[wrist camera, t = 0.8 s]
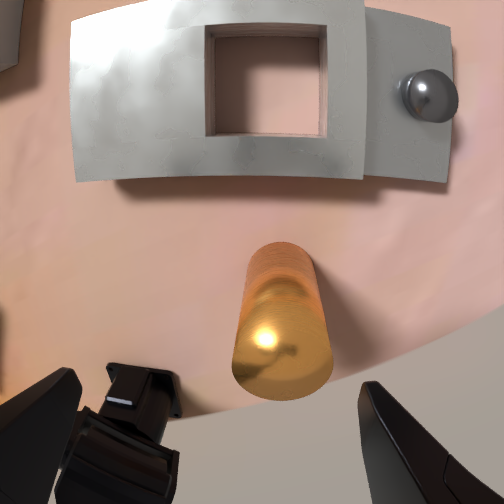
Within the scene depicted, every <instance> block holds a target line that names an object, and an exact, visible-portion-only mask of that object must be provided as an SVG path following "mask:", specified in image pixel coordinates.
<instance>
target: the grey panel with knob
mask: <svg viewBox="0 0 504 504" xmlns="http://www.w3.org/2000/svg"><path fill="white" fill-rule="evenodd" d="M242 36H287V37H309V38H319V135H311V134H284V133H220V134H216V120H215V38H221V37H242ZM457 108H458V93H457V90H456V87H455V85H454V83H453V65H452V44H451V31H450V27H448V26H445V25H442V24H438V23H435V22H432V21H428V20H424V19H421V18H417V17H413V16H409V15H404V14H400V13H395V12H391V11H386V10H381V9H375V8H370V7H365V6H364V0H152V1H147V2H142V3H137V4H133V5H129V6H124V7H120V8H116V9H113V10H109V11H105V12H102V13H98V14H95V15H92V16H88V17H85V18H82V19H79V20H76V21H73V22H72V29H71V45H70V116H71V133H72V147H73V158H74V168H75V176H76V182H88V181H100V180H114V179H130V178H149V177H173V176H219V175H254V176H300V177H325V178H344V179H360V180H363V175H371V176H384V177H395V178H406V179H415V180H425V181H433V182H442V183H447V176H448V167H449V157H450V145H451V131H452V117H453V116H454V115H455V113H456V111H457Z"/></svg>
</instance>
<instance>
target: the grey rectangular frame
mask: <svg viewBox="0 0 504 504" xmlns="http://www.w3.org/2000/svg"><path fill="white" fill-rule="evenodd" d="M23 5H24V0H0V72H1V71H3V70H6V69H8V68H10V67H12V66H15V65H17V64H18V52H19V39H20V28H21V19H22V12H23Z"/></svg>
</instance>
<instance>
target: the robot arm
mask: <svg viewBox="0 0 504 504" xmlns="http://www.w3.org/2000/svg"><path fill="white" fill-rule="evenodd" d="M106 369H107V372H108V375H109V377H110V380H111V382H112V385H111V387H110V388H109V390H108V392H107V394H106V396H105V401H104V403H103V404H102V406H101V408H100V410H99V413H98V414H97V413H95V412H94V411H92V410H90V408H89V407H87V406H84V408H83V410H82V411H77V409H78V406H79V402H80V398H81V395H82V385H81V383H80V381H79V379H78V377H77V375H76V373H75V371H74V370H73V369H71V368H66V367H62V368H60V369H58V370H57V371H55V372H53V373H52V374H50V375H48V376H47V377H45V378H44V379H42V380H40V381H39V382H37V383H36V384H34V385H32V386H31V387H29V388H28V389H26V390H24V391H23V392H21V393H19V394H18V395H16V396H15V397H13V398H11V399H10V400H8V401H7V402H5V403H3V404H2V405H0V504H48V501H49V497H50V494H51V491H52V487H53V484H54V481H55V477H56V475H57V472H58V469H61V470H62V471H61V474H60V476H59V478H58V481H57V483H56V486H55V489H54V492H55V499H56V504H171V503H172V501H173V498H174V495H175V491H176V486H177V474H178V464H179V454H180V453H179V452H178V451H176V450H171V449H168V448H166V447H164V446H161V445H160V443H161V440H162V437H163V433H164V430H165V427H166V424H167V421H168V418H169V417H172V418H181V417H182V410H181V406H180V402H179V398H178V394H177V390H176V386H175V381H174V377H173V374H172V373H171V372H169V371H165V370H157V369H150V368H142V367H135V366H129V365H122V364H116V363H108V364H107V366H106ZM358 415H359V425H360V434H361V446H362V453H363V458H364V464H365V468H366V473H367V478H368V483H369V488H370V493H371V498H372V503H373V504H504V498H502V497H501V496H500V495H498V494H497V493H496V492H494V491H493V490H492V489H490V488H489V487H488V486H487V485H485V484H484V483H482V482H481V481H480V480H479V479H477V478H476V477H475V476H474V475H473V474H471V473H470V472H469V471H468V470H467V469H466V468H465V467H464V466H462V465H461V464H460V463H459V462H458V461H457V460H456V459H455V458H454V457H453V456H452V455H451V454H449V452H448V451H447V450H446V449H445V448H444V447H443V446H442V445H441V444H440V443H439V442H438V441H437V440H436V439H435V438H434V437H433V436H432V435H431V434H430V433H429V432H428V431H427V430H426V429H425V428H424V427H423V426H422V425H421V424H420V423H419V422H418V421H417V420H416V419H415V418H414V417H413V416H412V415H411V414H410V413H409V412H408V411H407V410H406V409H405V408H404V407H403V406H402V405H401V404H400V403H399V402H398V401H397V400H396V399H395V398H394V397H393V396H392V395H391V394H390V393H389V392H388V391H387V390H386V389H385V388H384V387H383V386H382V385H381V384H380V383H379V382H377V381H367V382H364V383H363V384H362V387H361V391H360V394H359V398H358Z"/></svg>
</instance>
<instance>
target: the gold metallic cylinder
mask: <svg viewBox="0 0 504 504" xmlns="http://www.w3.org/2000/svg"><path fill="white" fill-rule="evenodd" d="M332 370H333V356H332V351H331V346H330V341H329V336H328V331H327V326H326V321H325V317H324V312H323V307H322V303H321V298H320V293H319V289H318V284H317V280H316V275H315V271H314V267H313V263H312V260H311V258H310V257H309V255H308V254H307V253H306V252H305V251H304V250H303V249H302V248H300V247H299V246H296V245H294V244H291V243H287V242H276V243H271V244H268V245H266V246H264V247H262V248H260V249H259V250H258V251H257V252H256V253H255V254H254V255H253V256H252V258H251V260H250V262H249V265H248V270H247V276H246V282H245V288H244V294H243V300H242V306H241V311H240V317H239V323H238V329H237V335H236V341H235V347H234V353H233V358H232V372H233V375H234V377H235V379H236V381H237V382H238V383H239V385H240V386H241V387H242V388H244V389H245V390H246V391H248V392H249V393H251V394H253V395H255V396H258V397H261V398H264V399H268V400H276V401H287V400H294V399H299V398H302V397H305V396H307V395H310V394H312V393H314V392H315V391H317V390H318V389H320V388H321V387H322V386H323V385H324V384H325V383H326V382H327V380H328V379H329V377H330V375H331V373H332Z"/></svg>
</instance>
